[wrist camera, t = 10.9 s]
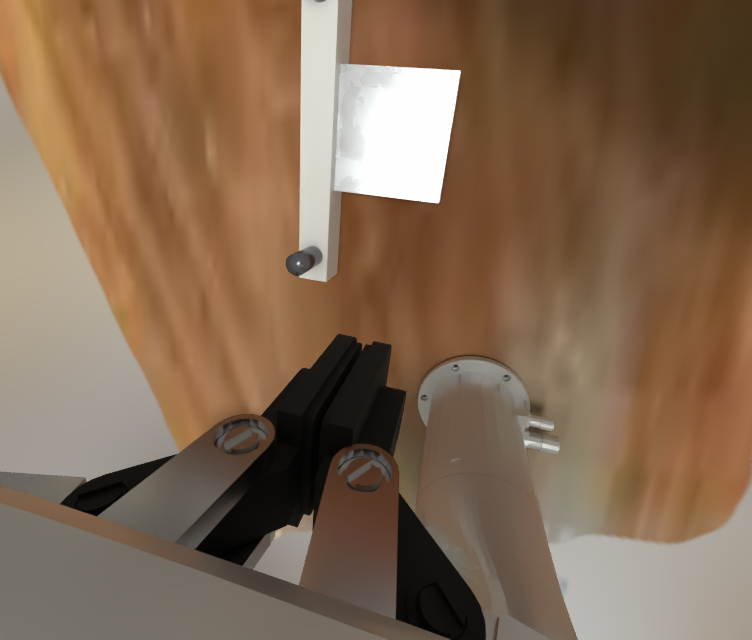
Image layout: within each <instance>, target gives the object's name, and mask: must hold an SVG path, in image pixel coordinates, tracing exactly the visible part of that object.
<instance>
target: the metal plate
mask: <svg viewBox="0 0 752 640" xmlns="http://www.w3.org/2000/svg"><path fill="white" fill-rule="evenodd" d="M460 79H461V71H458V70H440V69H423V68H406V67H389V66H372V65H355V64H340V71H339V92H338V112H337V133H336V154H335V175H334V190H335V191H343V192H351V193H359V194H367V195H375V196H384V197H392V198H400V199H408V200H416V201H424V202H432V203H439V202H440V200H441V194H442V188H443V182H444V176H445V170H446V164H447V158H448V152H449V146H450V140H451V134H452V128H453V122H454V116H455V110H456V104H457V97H458V91H459V85H460Z"/></svg>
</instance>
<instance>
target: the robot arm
mask: <svg viewBox="0 0 752 640" xmlns="http://www.w3.org/2000/svg"><path fill="white" fill-rule="evenodd" d="M361 351H362V352H361ZM390 355H391V345H389V344H384V343H380V342H375V341H374V342H373V343H372V345H367V344H366V345H365V347H364V349H363V350H362V344H361V343H357V339H356V337H351V336H346V335H341V334H338V335H337V336H336V338H335V339H334V340H333V341H332V342H331V344H330V345H329V346H328V347H327V349H326V350H325V351H324V352H323V354H322V355H321V356H320V357H319V359H318V360H317V361H316V362H315V364H314V365H313V366H312V367H311V368H310V369H307V368H302V369H301V370H300V371H299V372H298V373H297V374H296V375H295V377H294V378H293V379H292V380H291V381H290V382H289V384H288V385H287V386H286V387H285V388H284V389H283V391H282V392H281V393H280V394H279V395H278V396H277V398H276V399H275V400H274V401H273V402H272V404H271V405H270V406H269V407H268V408H267V409H266V411H265V412H264V413H263V414H262V415H261V416H258V415H254V414H242V415H236V416H232V417H229V418H227V419H224V420H222V421H221V422H219V423H217V424H216V425H215V426H213V427H212V428H211V429H209V430H208V431H207V432H205V433H204V434H203V435H202V436H200V437H199V438H198V439H196V440H195V441H194V442H193V443H191V444H190V445H189V446H187V447H186V448H185V449H183V450H182V451H181V452H180V453H178V454H176V455H172V456H169V457H165V458H162V459H158V460H155V461H151V462H147V463H144V464H140V465H137V466H133V467H130V468H127V469H123V470H119V471H116V472H112V473H109V474H105V475H103V476H100V477H98V478H95V479H92V480H90V481H88V482H86V479H85V478H84V477H70V476H55V475H40V474H25V473H11V472H0V640H578V639H577V636H576V633H575V631H574V628H573V625H572V622H571V619H570V617H569V614H568V611H567V608H566V605H565V602H564V599H563V596H562V593H561V589H560V586H559V582H558V579H557V575H556V572H555V568H554V564H553V561H552V557H551V553H550V550H549V546H548V541H547V537H546V533H545V529H544V525H543V521H542V516H541V512H540V508H539V503H538V499H537V495H536V491H535V486H534V482H533V478H532V474H531V469H530V465H529V461H528V457H527V452H526V449H527V448H532V449H536V450H538V451H541V452H545V453H549V454H554V455H557V454H558V452H559V448H560V442H559V438H558V437H556V436H551V435H547V434H542V433H534V432H530V431H529V429H528V428H529V426H531V427H536V428H538V429H542V430H546V431H552V430H553V428H554V420H553V418H548V417H543V416H536V415H531V412H530V401H529V397H528V393H527V390H526V388H525V386H524V384H523V382H522V381H521V380H520V378H519V377H518V376H517V375H516V374H515V373H514V372H513V371H512V370H511V369H509V368H508V367H506V366H505V365H503V364H501V363H500V362H497V361H494V360H492V359H489V358H484V357H479V356H463V357H456V358H453V359H450V360H446V361H444V362H442V363H441V364H439V365H437V366H436V367H434V368H433V369H432V370H431V371H430V372H429V373H428V374H427V375H426V377H425V378H424V379H423V381H422V383H421V385H420V389H419V393H418V400H417V404H418V411H419V414H420V417H421V419H422V421H423V423H424V425H425V426H426V427H427V429H426V436H425V444H424V451H423V458H422V465H421V472H420V479H419V486H418V493H417V501H416V509H415V513H414V512H413V511H412V509H411V508H410V507H409V505H408V504H407V503H406V501H405V500H404V499H403V497H402V496H401V494H400V493H399V471H398V465H397V463H396V462H395V460H394V458H393V455H394V451H395V447H396V443H397V439H398V434H399V430H400V425H401V420H402V415H403V409H404V404H405V398H406V391H403V390H399V389H394V388H390V387H386V382H387V375H388V368H389V361H390ZM455 365H457V366H455ZM505 375H506V376H505ZM313 509H314V514H313V532H312V537H311V541H310V545H309V548H308V552H307V556H306V560H305V564H304V567H303V571H302V575H301V579H300V583H299V586H298V585H295V584H292V583H289V582H287V581H284V580H281V579H278V578H275V577H272V576H269V575H267V574H264V573H261V572H258V571H255V570H253V568H254V567H255V565H256V564H257V563H258V561H259V560H260V558H261V557H262V556H263V554H264V553H265V551H266V550H267V548H268V547H269V546H270V544H271V542H272V540H273V538H274V536H275V530H278V529H280V528H282V527H284V526H287V524H288V525H291V526H295V527H298V525H299V523H300V521H301V519H302V517H303V515H304V514H306V515H311V513H312V511H313Z"/></svg>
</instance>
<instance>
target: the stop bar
mask: <svg viewBox="0 0 752 640" xmlns="http://www.w3.org/2000/svg"><path fill="white" fill-rule="evenodd" d="M351 17H352V0H302V23H301V131H300V238H299V251H298V252H296V253H294V254H292V255H290V256H289V257H288V258H287V260H286V267H287V269H288V271H289V272H290V273H291V274H293V275H295V276H299V277H300V278H305V279H311V280H317V281H323V282H327V281H328V280H330V279H331V278H332V277H333V276H335V275H336V274H337V270H338V252H339V234H340V215H341V197H342V191H335V190H334V175H335V154H336V133H337V112H338V92H339V71H340V64H349V53H350V35H351Z"/></svg>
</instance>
